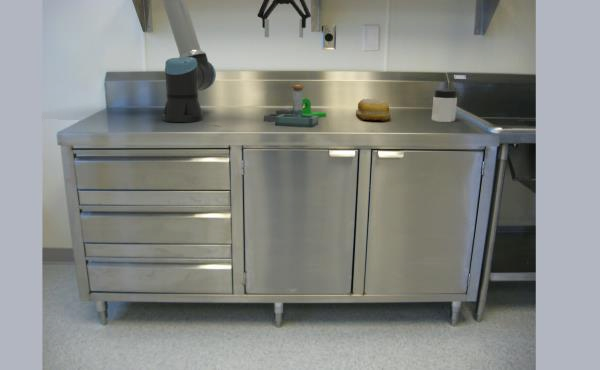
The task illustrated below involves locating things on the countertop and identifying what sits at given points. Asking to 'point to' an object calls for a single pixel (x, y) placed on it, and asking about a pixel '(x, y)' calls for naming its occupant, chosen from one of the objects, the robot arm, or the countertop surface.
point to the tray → (296, 120)
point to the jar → (444, 105)
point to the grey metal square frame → (270, 117)
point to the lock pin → (297, 100)
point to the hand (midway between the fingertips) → (283, 37)
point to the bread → (373, 110)
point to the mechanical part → (308, 109)
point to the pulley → (285, 110)
